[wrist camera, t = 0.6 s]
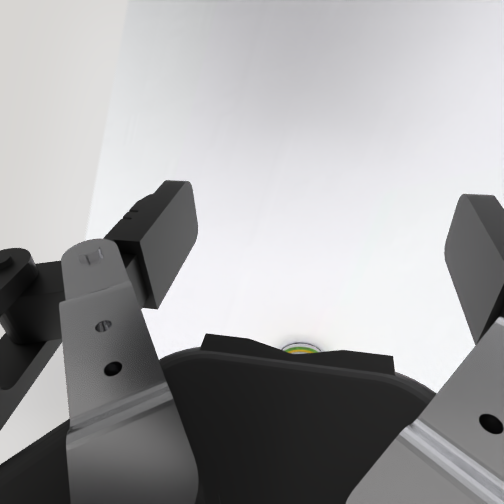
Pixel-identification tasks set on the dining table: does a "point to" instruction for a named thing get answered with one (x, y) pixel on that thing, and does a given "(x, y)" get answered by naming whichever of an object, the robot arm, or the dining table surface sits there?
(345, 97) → the dining table surface
